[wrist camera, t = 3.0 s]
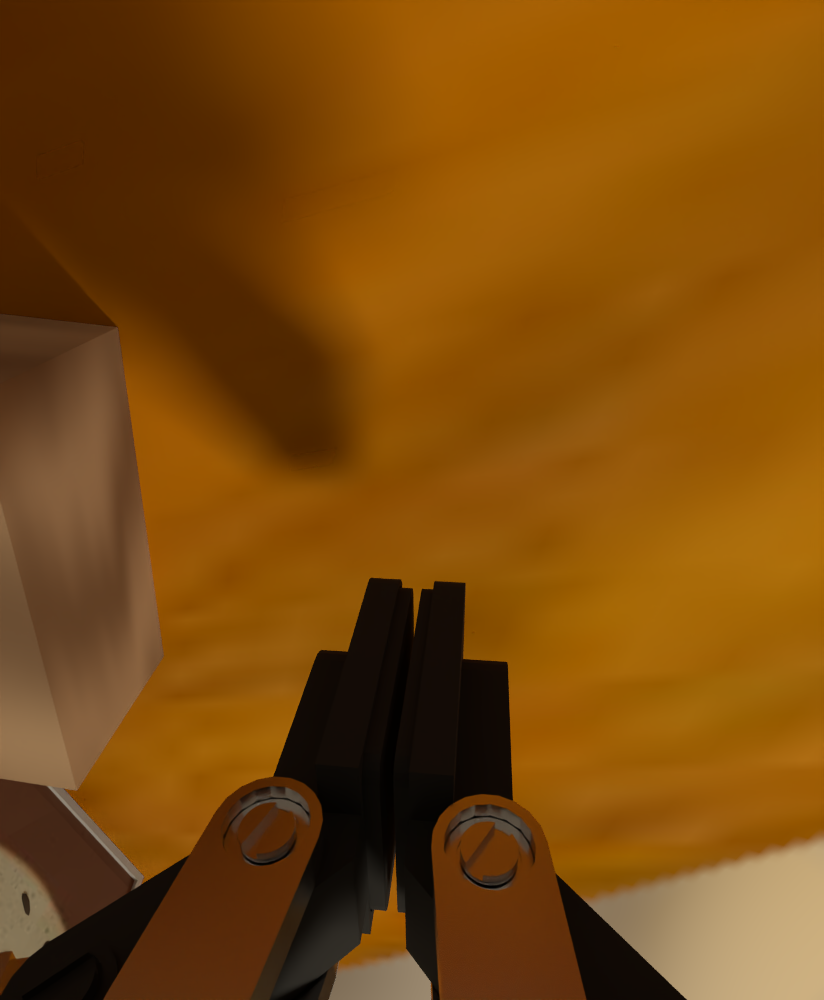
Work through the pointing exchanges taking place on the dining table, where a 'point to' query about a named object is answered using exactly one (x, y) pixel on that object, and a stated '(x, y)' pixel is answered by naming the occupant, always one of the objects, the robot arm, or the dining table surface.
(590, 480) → the dining table surface
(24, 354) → the block
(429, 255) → the dining table surface
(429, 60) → the dining table surface
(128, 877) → the food container
